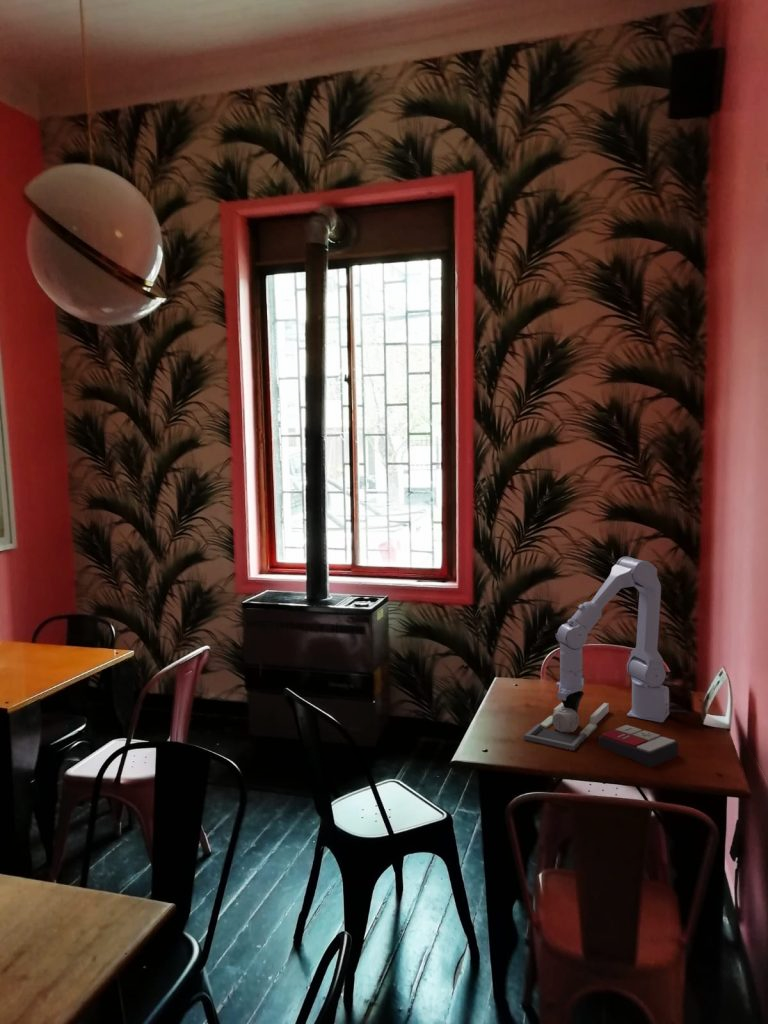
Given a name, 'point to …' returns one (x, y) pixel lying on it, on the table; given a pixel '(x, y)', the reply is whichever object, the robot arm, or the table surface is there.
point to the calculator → (639, 745)
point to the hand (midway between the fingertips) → (571, 718)
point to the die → (565, 720)
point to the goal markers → (586, 730)
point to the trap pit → (554, 738)
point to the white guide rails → (597, 714)
